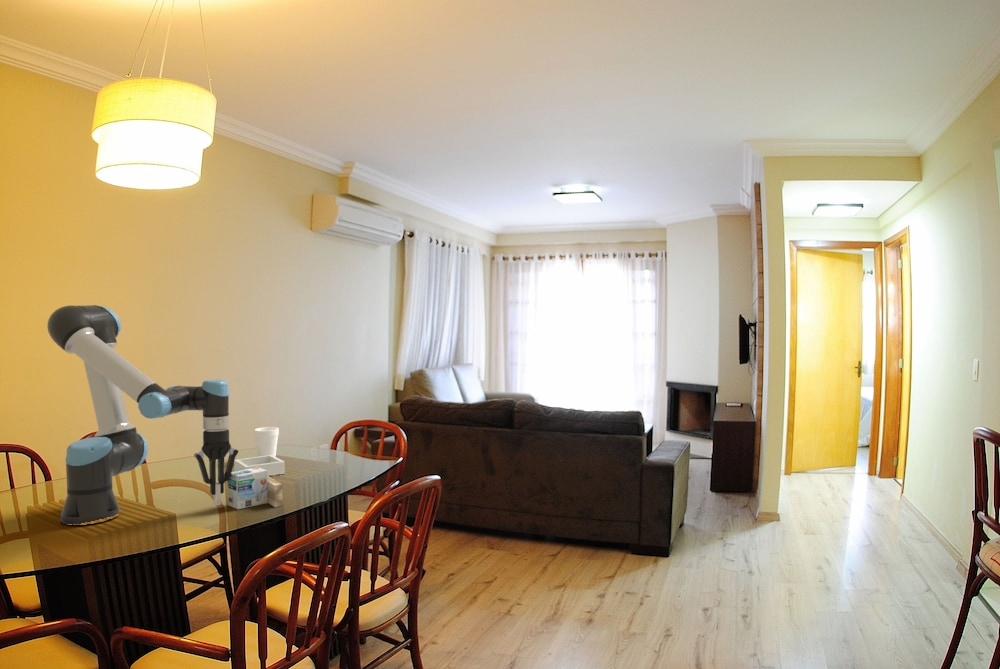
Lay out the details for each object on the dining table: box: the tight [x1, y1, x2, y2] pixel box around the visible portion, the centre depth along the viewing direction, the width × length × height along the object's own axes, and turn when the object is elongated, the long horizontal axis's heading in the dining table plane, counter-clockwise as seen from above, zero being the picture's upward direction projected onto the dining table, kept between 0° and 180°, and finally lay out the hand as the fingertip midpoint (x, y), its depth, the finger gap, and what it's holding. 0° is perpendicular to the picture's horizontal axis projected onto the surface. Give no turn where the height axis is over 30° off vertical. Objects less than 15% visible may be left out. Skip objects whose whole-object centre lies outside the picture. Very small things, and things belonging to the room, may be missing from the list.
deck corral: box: [233, 455, 286, 476], centre depth 256 cm, size 14×14×5 cm
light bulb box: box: [227, 467, 269, 510], centre depth 217 cm, size 11×7×11 cm, turn 139°
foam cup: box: [254, 426, 280, 457], centre depth 279 cm, size 10×9×13 cm
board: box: [267, 476, 284, 508], centre depth 222 cm, size 2×20×7 cm, turn 38°
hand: (217, 504), depth 211 cm, fingers closed
